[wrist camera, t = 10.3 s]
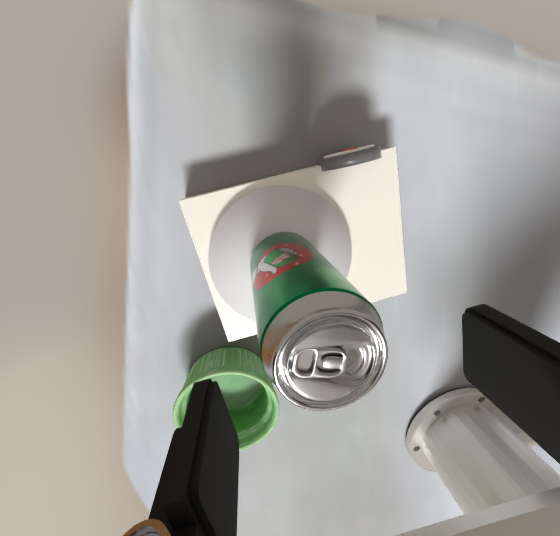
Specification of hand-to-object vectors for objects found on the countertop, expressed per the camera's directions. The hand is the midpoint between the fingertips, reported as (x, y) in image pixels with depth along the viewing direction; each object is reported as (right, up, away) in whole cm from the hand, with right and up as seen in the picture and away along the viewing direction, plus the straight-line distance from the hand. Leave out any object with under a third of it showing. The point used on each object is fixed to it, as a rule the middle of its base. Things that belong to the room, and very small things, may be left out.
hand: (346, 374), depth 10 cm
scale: (-1, +6, +14) cm, 15 cm away
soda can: (-2, +4, +11) cm, 12 cm away
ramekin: (-8, -7, +18) cm, 21 cm away
